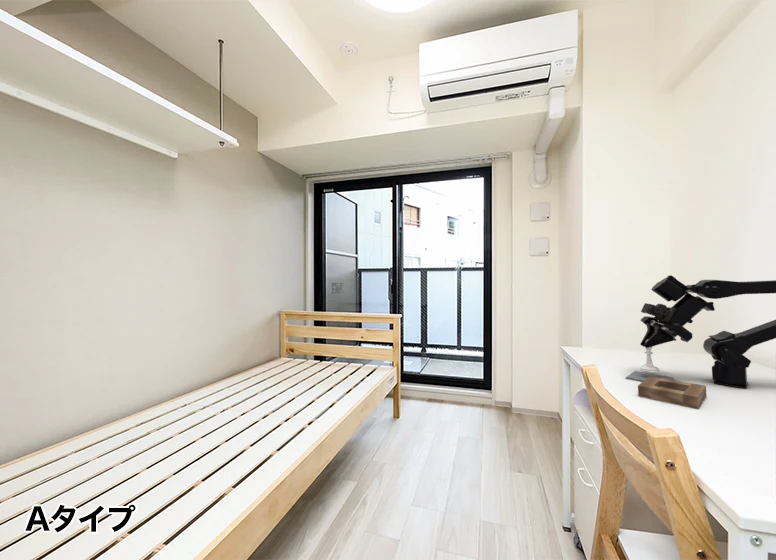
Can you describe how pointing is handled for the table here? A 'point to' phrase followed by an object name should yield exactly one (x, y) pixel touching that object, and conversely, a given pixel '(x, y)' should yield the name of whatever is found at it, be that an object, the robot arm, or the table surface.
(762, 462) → the table surface
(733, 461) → the table surface
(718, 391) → the table surface
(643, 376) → the slate mat
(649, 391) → the socket block
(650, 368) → the chess piece
